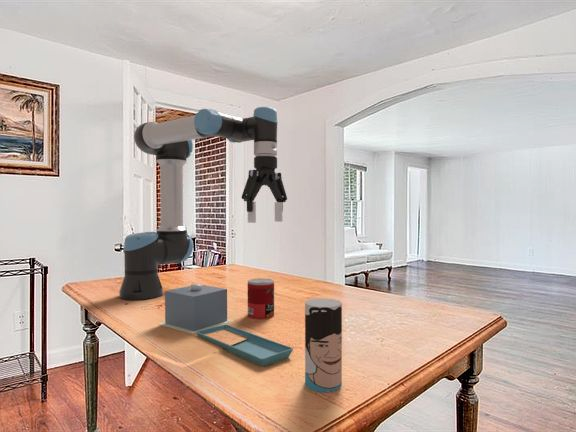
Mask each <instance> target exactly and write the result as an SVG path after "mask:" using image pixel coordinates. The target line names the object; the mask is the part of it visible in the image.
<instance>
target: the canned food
mask: <svg viewBox="0 0 576 432" xmlns="http://www.w3.org/2000/svg"><path fill="white" fill-rule="evenodd" d="M274 316H275V281H274V279H270V278H263V277H262V278H261V277H260V278H251V279H248V280H247V317H248V318H251V319H255V320H263V319H270V318H273V317H274Z"/></svg>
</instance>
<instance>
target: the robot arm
mask: <svg viewBox="0 0 576 432" xmlns="http://www.w3.org/2000/svg"><path fill="white" fill-rule="evenodd" d="M210 137H211V138H212V137H219V138H222V139H226V140H228V142H229V143H234V144H235V143H238V144H239V143H243V142H250V141H253V155H254V158H253V169H249V170H248V176H247V180H246V183H245V185H244V189H243V191H242V194H241V199H242V200H243V201H244V202H246V212H247V223H249V224H250V223H254V224H256V223H257V213H256V212H257V209H256V208H257V202H256V201H255V199H256V197H257V195H258V194H259V192H260V190H261V188H262V187H263V186H265V187H266V186H267V187H268V188H269V189H270V192H271V194H272V195H273V198H274V199H275V202H274V222H283V212H284V203H286V202H287V201H288V196H287V193H286V189H285V186H284V182H283V179H282V173H281V172H276V169H278V158H277V155H278V140H277V139H278V113H277V110H276V109H275V108H273V107H269V106H260V107H259V106H258V107H256V108H254V110H253V115H252V116H250V117H244V118H243V117H238V116H235V115H231V114H227V113H225V112H220V111H216V110H214V109H211V108H210V109H209V108H201V109H199V110H198V111H197V112H196V113H195V115H191V116H186V117H181V118H177V119H172V120H166V121H163V122H162V121H161V122H156V121H147V122H144V123H141V124H140V125H138V127H136V129H135V131H134V135H133V138H134V143H135V145H136V147H138V149H139V150H140V151H142V152H143V153H145V154H148V155H152V156H155V161H156V163H157V164H158V165H159V166H160V167H159V168H160V169H159V170H160V171H159V173H160V174H159V175H160V176H159V177H160V178H159V179H160V180H159V182H160V184H159V187H160V191H159V194H160V198H159V199H160V226H159V227H158V228H156V231H144V232H136V233H132V234H129V235H126V237H125V238H124V244H123V245H124V246H123V251H124V252H123V254H124V259H123V260H124V261H123V262H124V277H123V278H122V282H121V286H120V288H119V294H118V295H119V298H120V299H122V300H127V301H128V300H129V301H136V300H137V301H138V300H139V301H140V300H149V299H154V298H159V297H161V296H162V295H164V291H163V285H162V283H161V279H160V277H159V272H158V271H159V270H158V268H159V266H163V265H169V264H179V263H182V262H185V261H187V260H189V258H190V257H191V255H192V253H193V250H194V241H193V239H192V237H191V235H190V234H189V233H188V230H187V228H186V227H185V226H184V207H183V206H184V203H183V202H184V201H183V199H184V196H183V195H184V193H183V191H184V190H183V189H184V187H183V185H184V184H183V180H184V179H183V177H184V176H183V173H184V171H183V169H184V168H183V166H184V165H185V164H186V163H187V159H188V158H189V157H190V156H191V155H192V154H191V153H192V152H193V146H194V144H193V141H194V140H198V139H205V138H210Z"/></svg>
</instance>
